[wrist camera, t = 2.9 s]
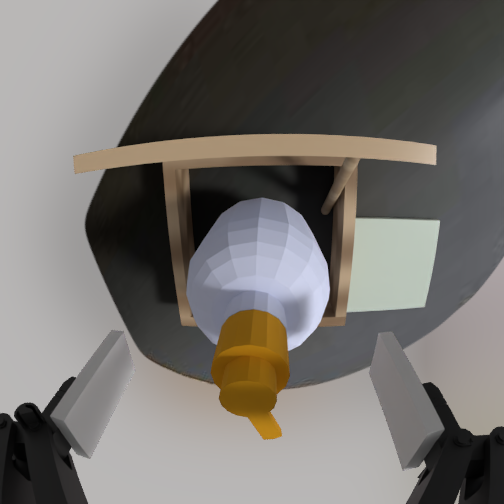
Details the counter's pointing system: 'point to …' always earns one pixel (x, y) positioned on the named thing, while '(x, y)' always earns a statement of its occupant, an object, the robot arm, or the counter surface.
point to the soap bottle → (257, 302)
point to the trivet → (391, 263)
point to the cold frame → (343, 212)
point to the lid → (256, 149)
